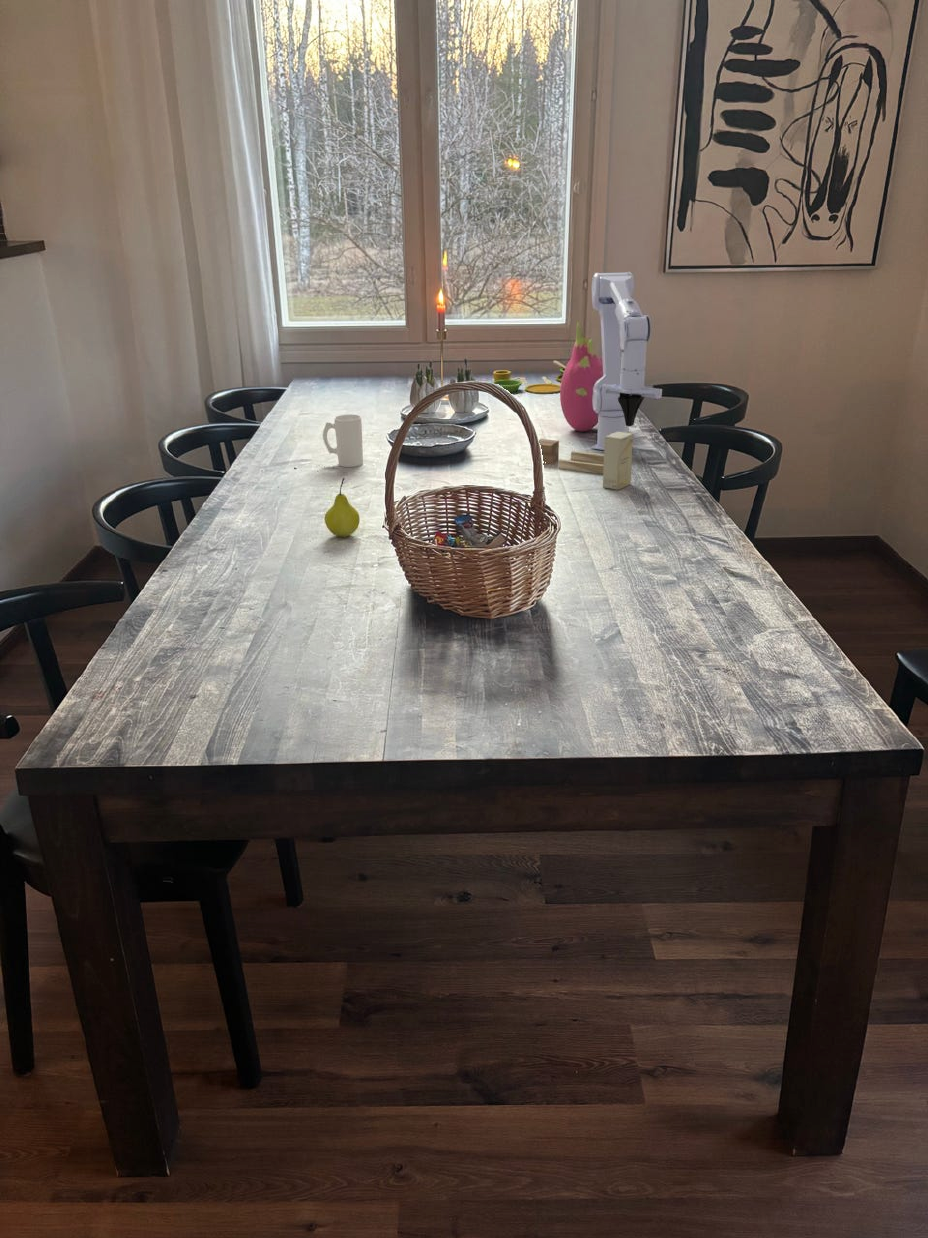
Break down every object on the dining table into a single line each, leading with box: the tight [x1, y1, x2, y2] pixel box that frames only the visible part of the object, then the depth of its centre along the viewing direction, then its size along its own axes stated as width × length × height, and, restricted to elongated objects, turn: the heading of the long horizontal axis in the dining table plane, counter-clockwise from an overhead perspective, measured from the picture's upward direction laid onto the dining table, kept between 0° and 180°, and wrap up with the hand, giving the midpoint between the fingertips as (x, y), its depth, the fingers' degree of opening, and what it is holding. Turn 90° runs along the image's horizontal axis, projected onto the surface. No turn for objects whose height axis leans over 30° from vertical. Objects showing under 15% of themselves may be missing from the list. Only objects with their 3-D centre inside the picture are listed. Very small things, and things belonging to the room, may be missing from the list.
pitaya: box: [559, 321, 603, 432], centre depth 265 cm, size 18×14×30 cm
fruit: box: [323, 477, 361, 538], centre depth 196 cm, size 7×7×12 cm
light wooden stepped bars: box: [557, 450, 604, 475], centre depth 240 cm, size 9×12×2 cm
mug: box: [322, 413, 364, 468], centre depth 244 cm, size 10×7×12 cm, turn 86°
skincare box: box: [602, 431, 634, 491], centre depth 223 cm, size 6×4×12 cm
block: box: [538, 438, 560, 466], centre depth 244 cm, size 5×5×5 cm
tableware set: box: [491, 360, 567, 395], centre depth 327 cm, size 41×28×6 cm
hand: (629, 425), depth 235 cm, fingers closed
